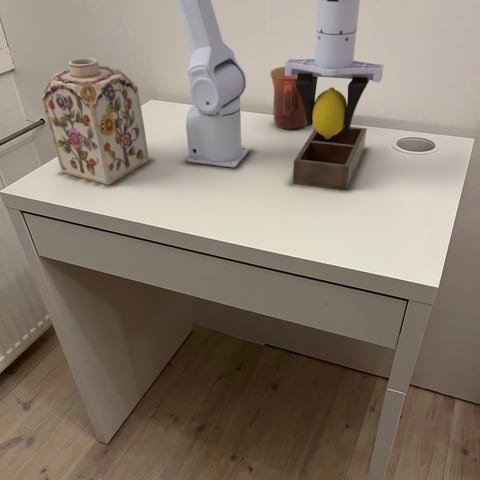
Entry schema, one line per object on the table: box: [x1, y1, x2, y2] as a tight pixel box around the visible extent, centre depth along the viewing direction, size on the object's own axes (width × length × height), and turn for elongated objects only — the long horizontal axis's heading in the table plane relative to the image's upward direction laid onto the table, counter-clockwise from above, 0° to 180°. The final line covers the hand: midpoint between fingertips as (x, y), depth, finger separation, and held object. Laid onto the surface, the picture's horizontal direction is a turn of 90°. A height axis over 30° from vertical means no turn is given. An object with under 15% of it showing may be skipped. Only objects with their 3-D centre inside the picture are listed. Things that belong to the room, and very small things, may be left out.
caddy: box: [292, 126, 368, 191], centre depth 89 cm, size 9×17×4 cm, turn 160°
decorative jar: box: [41, 57, 150, 186], centre depth 86 cm, size 12×12×18 cm
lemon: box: [312, 86, 347, 139], centre depth 80 cm, size 6×6×8 cm
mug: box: [269, 66, 307, 130], centre depth 101 cm, size 12×9×10 cm
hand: (328, 125), depth 81 cm, fingers closed on lemon, 5 cm apart
